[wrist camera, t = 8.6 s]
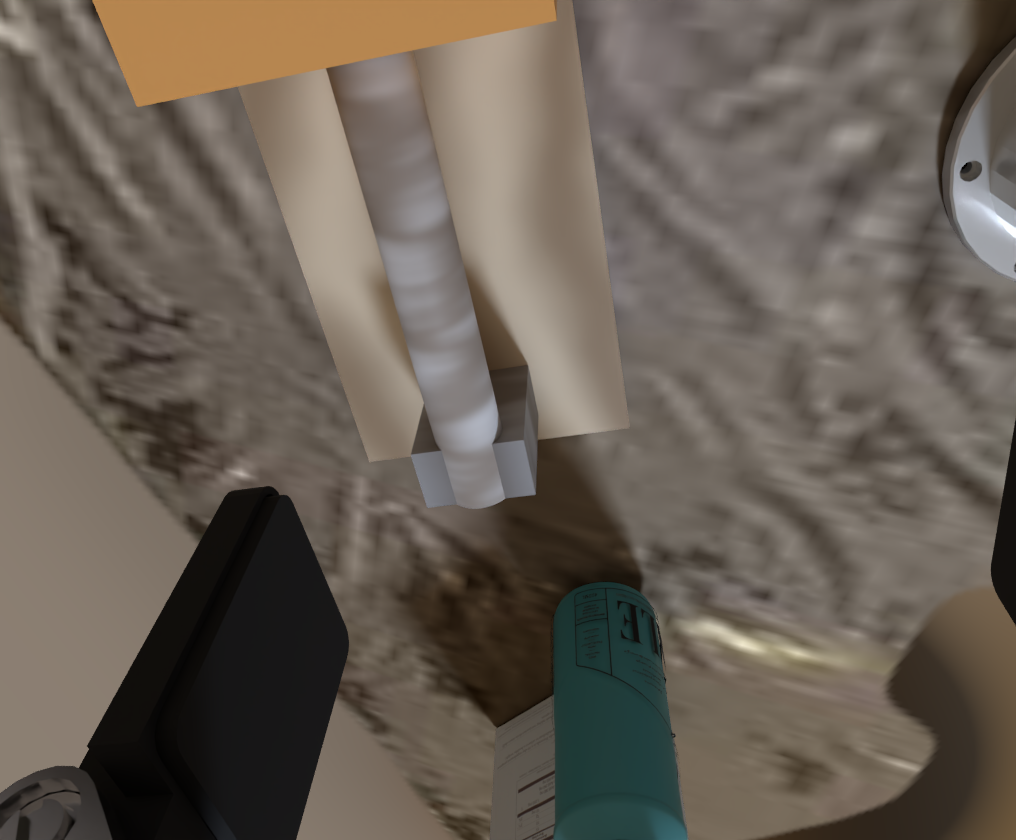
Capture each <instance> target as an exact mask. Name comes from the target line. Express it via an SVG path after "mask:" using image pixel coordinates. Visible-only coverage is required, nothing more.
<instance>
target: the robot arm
mask: <svg viewBox="0 0 1016 840" xmlns="http://www.w3.org/2000/svg"><path fill="white" fill-rule="evenodd" d="M967 162H968V164H967V167H966V168H965V169H963V170H961V168H962V167H963V166H964V165H965V164H966V163H967ZM942 184H943V200H944V204H945V208H946V211H947V214H948V218H949V221H950V224H951V226H952V227H953V229H954V231H955V232H956V234H957V236H958V237H959V239H960V241H961V242H962V244H963V245H964V246H965V247H966V248H967V249H968V250H969V251H970V252H971V253H972V254H973V255H974V256H975V257H976V258H977V259H978V260H980V261H981V262H982V263H984V264H985V265H986V266H987V267H989V268H990V269H991V270H993V271H994V272H995V273H997V274H999V275H1001V276H1004V277H1006V278H1008V279H1010V280H1012V281H1015V282H1016V37H1015V38H1014V39H1013V40H1012V41H1011V42H1010V43H1009V44H1008V45H1007V46H1006V47H1005V48H1004V49H1003V50H1002V51H1001V52H1000V53H999V54H998V55H997V56H996V57H995V58H994V59H993V60H992V61H991V63H990V64H989V65H988V67H987V68H986V69H985V71H984V72H983V73H982V75H981V76H980V78H979V79H978V80H977V82H976V83H975V84H974V86H973V87H972V88H971V90H970V92H969V94H968V96H967V98H966V100H965V102H964V103H963V105H962V107H961V109H960V111H959V113H958V115H957V117H956V119H955V122H954V125H953V128H952V131H951V134H950V137H949V140H948V143H947V146H946V150H945V157H944V164H943V171H942ZM991 577H992V582H993V586H994V588H995V591H996V593H997V595H998V597H999V599H1000V600H1001V602H1002V604H1003V605H1004V607H1005V609H1006V610H1007V612H1008V613H1009V615H1010V617H1011V618H1012V620H1013V622H1014V623H1015V625H1016V420H1015V426H1014V432H1013V438H1012V444H1011V450H1010V456H1009V462H1008V468H1007V474H1006V480H1005V485H1004V491H1003V497H1002V503H1001V509H1000V515H999V521H998V527H997V533H996V539H995V545H994V551H993V557H992V563H991ZM348 649H349V639H348V632H347V629H346V626H345V623H344V621H343V619H342V616H341V614H340V612H339V609H338V607H337V605H336V602H335V600H334V598H333V595H332V593H331V591H330V588H329V586H328V584H327V581H326V579H325V577H324V574H323V572H322V570H321V567H320V565H319V563H318V560H317V558H316V556H315V553H314V551H313V549H312V546H311V544H310V542H309V539H308V537H307V535H306V532H305V530H304V528H303V525H302V523H301V521H300V518H299V516H298V514H297V511H296V509H295V507H294V504H293V502H292V501H291V499H290V498H289V497H288V496H287V495H279V493H278V492H277V491H276V490H275V489H274V488H273V487H270V486H266V487H258V488H250V489H242V490H234V491H231V492H229V493H228V494H227V495H226V496H225V497H224V499H223V501H222V503H221V505H220V507H219V508H218V510H217V512H216V514H215V516H214V517H213V519H212V521H211V523H210V525H209V526H208V528H207V530H206V532H205V534H204V535H203V537H202V539H201V541H200V543H199V544H198V546H197V548H196V550H195V552H194V554H193V555H192V557H191V559H190V561H189V563H188V564H187V566H186V568H185V570H184V572H183V574H182V575H181V577H180V579H179V581H178V582H177V584H176V586H175V588H174V590H173V592H172V593H171V595H170V597H169V599H168V601H167V602H166V604H165V606H164V608H163V610H162V612H161V613H160V615H159V617H158V619H157V620H156V622H155V624H154V626H153V628H152V630H151V631H150V633H149V635H148V637H147V639H146V640H145V642H144V644H143V646H142V648H141V649H140V651H139V653H138V655H137V657H136V659H135V660H134V662H133V664H132V666H131V667H130V669H129V671H128V673H127V675H126V676H125V678H124V680H123V682H122V684H121V686H120V687H119V689H118V691H117V693H116V695H115V696H114V698H113V700H112V702H111V704H110V705H109V707H108V709H107V711H106V713H105V714H104V716H103V718H102V720H101V722H100V723H99V725H98V727H97V729H96V731H95V733H94V734H93V736H92V738H91V740H90V742H89V743H88V745H87V747H88V748H89V750H88V752H87V754H86V756H85V758H84V759H83V761H82V763H81V765H80V767H79V768H76V767H74V766H54V767H51V768H47V769H43V770H40V771H37V772H35V773H32V774H30V775H28V776H27V777H24V778H23V779H20V780H18V781H17V782H15V783H13V784H12V785H11V786H9V787H8V788H7V789H5V790H4V791H3V792H1V793H0V840H296V838H297V834H298V831H299V827H300V824H301V820H302V816H303V813H304V809H305V805H306V802H307V798H308V795H309V791H310V788H311V784H312V781H313V777H314V773H315V770H316V766H317V763H318V759H319V755H320V752H321V748H322V745H323V741H324V738H325V734H326V730H327V727H328V723H329V720H330V716H331V713H332V709H333V705H334V702H335V698H336V695H337V691H338V688H339V684H340V680H341V677H342V673H343V670H344V666H345V663H346V659H347V655H348Z"/></svg>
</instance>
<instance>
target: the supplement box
mask: <svg viewBox="0 0 1016 840" xmlns="http://www.w3.org/2000/svg"><path fill="white" fill-rule="evenodd" d="M551 698H552V696H551V697H549V698H547V699H546V700H544V701H542V702H541V703H539V704H537V705H536V706H534V707H532V708H531V709H529V710H527V711H526V712H524V713H522V714H521V715H519V716H517V717H515V718H514V719H512V720H510V721H509V722H507V723H505V724H504V725H502V726H500V727H498V728H497V729H496V740H495V757H494V775H493V792H492V810H491V826H490V840H553V831H554V826H555V732H554V731H555V725H554V695H553V720H552V719H551V717H552V699H551ZM552 723H553V724H552ZM553 727H554V729H553ZM672 736H673V735H672ZM673 740H674V738H673ZM674 742H675V741H673V743H674ZM674 745H675V743H674ZM674 751H675V752H676V748H675V746H674ZM675 758H677V755H676V754H675ZM676 764H677V765H676V767H677V769H678V762H677V759H676ZM679 780H680V776H679V769H678V784H679ZM679 791H680V798H681V805H682V812H683V818H684V823H685V825H686V829H687V824H686V817H685V810H684V803H683V796H682V790H681V783H680V784H679ZM687 836H688V831H687ZM687 840H689V838H688V839H687Z"/></svg>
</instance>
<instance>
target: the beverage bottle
mask: <svg viewBox="0 0 1016 840" xmlns="http://www.w3.org/2000/svg"><path fill="white" fill-rule="evenodd" d="M652 608H653V607H652V606H651V605H650V604H649V602H648V600H647V599H646V598H645V597H644V596H643V595H642V594H641V593H640V592H638V591H637V590H635V589H633V588H631V587H629V586H626V585H623V584H619V583H613V582H597V583H591V584H587V585H583V586H581V587H578V588H576V589H574V590H573V591H571V592H570V593H568V594H567V595H566V596H565V597H564V598H563V599H562V600H561V602H560V603H559V605H558V607H557V610H556V612H555V616H554V615H553V616H554V621H553V628H551V629H553V636H552V635H551V636H552V637H553V648H552V649H553V662H554V687H553V662H552V663H551V664H552V666H551V668H552V670H551V671H552V681H551V683H552V688H551V689H552V698H551V699H552V717H551V719H552V720H553V689H554V725H555V731H554V732H555V826H554V831H553V840H687V839H688V836H687V829H686V825H685V823H684V818H683V812H682V805H681V798H680V791H679V784H680V780H679V784H678V769H677V767H676V765H677V764H676V759H677V758H675V754H676V752H675V751H674V746H676V745H674V743H675V742H674V743H673V741H674V740H673V738H674V737H675V736H672V735H675V734H673V733H672V730H671V723H670V716H669V709H668V702H667V695H666V694H667V692H666V688H665V683H666V679H665V677H666V676H665V677H664V675H665V674H664V673H663V667H662V653H663V647H662V643H661V642H662V640H661V637H660V634H661V633H660V632H659V626H658V624H657V622H656V619H657V618H655V616H656V615H655V614H654V611H655V610H654V611H653V609H654V608H653V609H652ZM553 616H552V617H553ZM657 617H658V616H657ZM551 621H552V620H551ZM657 621H658V619H657ZM656 624H657V625H656ZM551 626H552V624H551ZM657 628H658V632H657ZM551 633H552V631H551ZM658 633H659V638H660V645H659V639H658ZM551 640H552V639H551ZM551 644H552V643H551ZM551 646H552V645H551ZM661 648H662V650H661ZM551 652H552V651H551ZM551 658H552V656H551ZM663 659H664V655H663ZM551 661H552V660H551ZM664 664H665V661H664ZM665 669H666V668H665ZM664 680H665V681H664ZM552 724H553V723H552ZM553 729H554V727H553ZM676 750H677V749H676ZM677 753H678V752H677ZM678 758H679V757H678Z"/></svg>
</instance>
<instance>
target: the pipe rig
mask: <svg viewBox="0 0 1016 840" xmlns="http://www.w3.org/2000/svg"><path fill="white" fill-rule="evenodd" d="M238 89H239V91H240V94H241V97H242V100H243V103H244V106H245V109H246V111H247V114H248V117H249V120H250V123H251V126H252V128H253V131H254V134H255V137H256V140H257V143H258V146H259V148H260V151H261V154H262V157H263V160H264V163H265V165H266V168H267V171H268V174H269V177H270V180H271V183H272V185H273V188H274V191H275V194H276V197H277V200H278V202H279V205H280V208H281V211H282V214H283V217H284V220H285V222H286V225H287V228H288V231H289V234H290V237H291V240H292V242H293V245H294V248H295V251H296V254H297V257H298V259H299V262H300V265H301V268H302V271H303V274H304V277H305V279H306V282H307V285H308V288H309V291H310V294H311V296H312V299H313V302H314V305H315V308H316V311H317V314H318V316H319V319H320V322H321V325H322V328H323V331H324V333H325V336H326V339H327V342H328V345H329V348H330V351H331V353H332V356H333V359H334V362H335V365H336V368H337V371H338V373H339V376H340V379H341V382H342V385H343V388H344V390H345V393H346V396H347V399H348V402H349V405H350V408H351V410H352V413H353V416H354V419H355V422H356V425H357V427H358V430H359V433H360V436H361V439H362V442H363V445H364V447H365V450H366V453H367V456H368V459H369V462H372V461H380V460H388V459H395V458H403V457H412V461H413V464H414V467H415V470H416V473H417V476H418V480H419V483H420V486H421V489H422V492H423V495H424V499H425V502H426V505H427V508H429V507H438V506H446V505H454V504H457V505H459V506H461V507H464V508H470V509H479V508H485V507H489V506H492V505H495V504H497V503H499V502H501V501H502V500H504V499H505V498H512V497H521V496H529V495H536V474H537V446H538V440H541V439H549V438H557V437H564V436H572V435H580V434H588V433H595V432H603V431H611V430H618V429H626V428H630V425H629V418H628V410H627V403H626V395H625V388H624V381H623V373H622V366H621V358H620V351H619V344H618V336H617V329H616V321H615V314H614V306H613V299H612V292H611V284H610V277H609V269H608V262H607V254H606V247H605V240H604V232H603V225H602V217H601V210H600V203H599V195H598V188H597V180H596V173H595V165H594V158H593V151H592V143H591V136H590V128H589V121H588V114H587V106H586V99H585V91H584V84H583V76H582V69H581V62H580V54H579V47H578V39H577V32H576V24H575V17H574V10H573V2H572V0H557V21H553V22H548V23H543V24H538V25H534V26H529V27H524V28H519V29H514V30H509V31H504V32H500V33H495V34H490V35H485V36H480V37H475V38H470V39H466V40H461V41H456V42H451V43H446V44H441V45H436V46H431V47H427V48H422V49H417V50H412V51H407V52H402V53H397V54H393V55H388V56H383V57H378V58H373V59H368V60H363V61H359V62H354V63H349V64H344V65H339V66H334V67H329V68H325V69H320V70H315V71H310V72H305V73H300V74H295V75H291V76H286V77H281V78H276V79H271V80H266V81H261V82H257V83H252V84H247V85H242V86H238Z"/></svg>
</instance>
